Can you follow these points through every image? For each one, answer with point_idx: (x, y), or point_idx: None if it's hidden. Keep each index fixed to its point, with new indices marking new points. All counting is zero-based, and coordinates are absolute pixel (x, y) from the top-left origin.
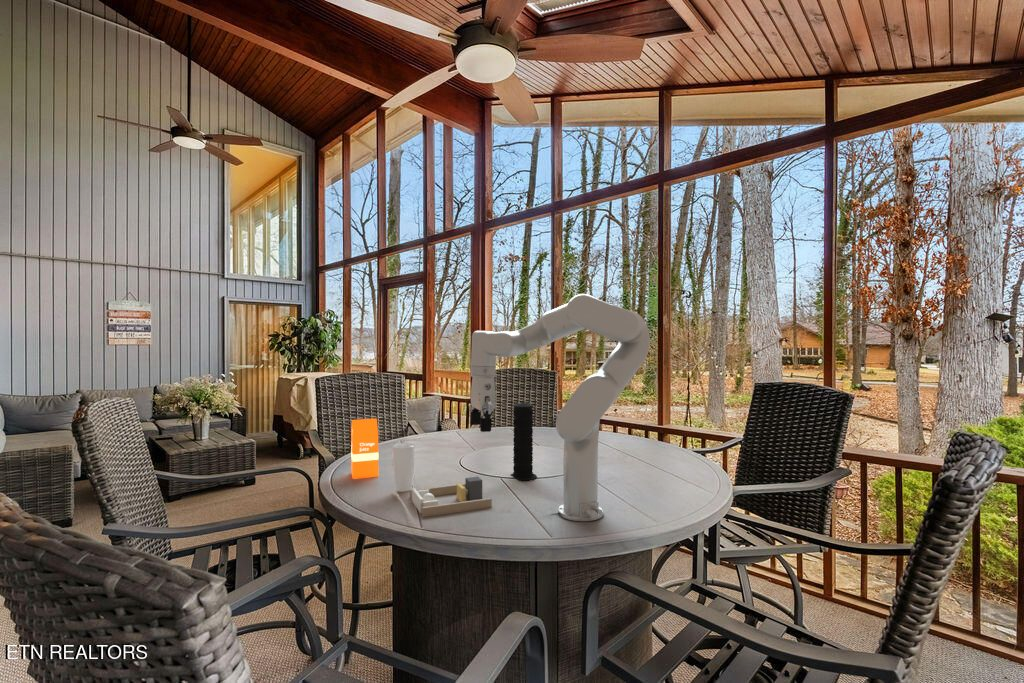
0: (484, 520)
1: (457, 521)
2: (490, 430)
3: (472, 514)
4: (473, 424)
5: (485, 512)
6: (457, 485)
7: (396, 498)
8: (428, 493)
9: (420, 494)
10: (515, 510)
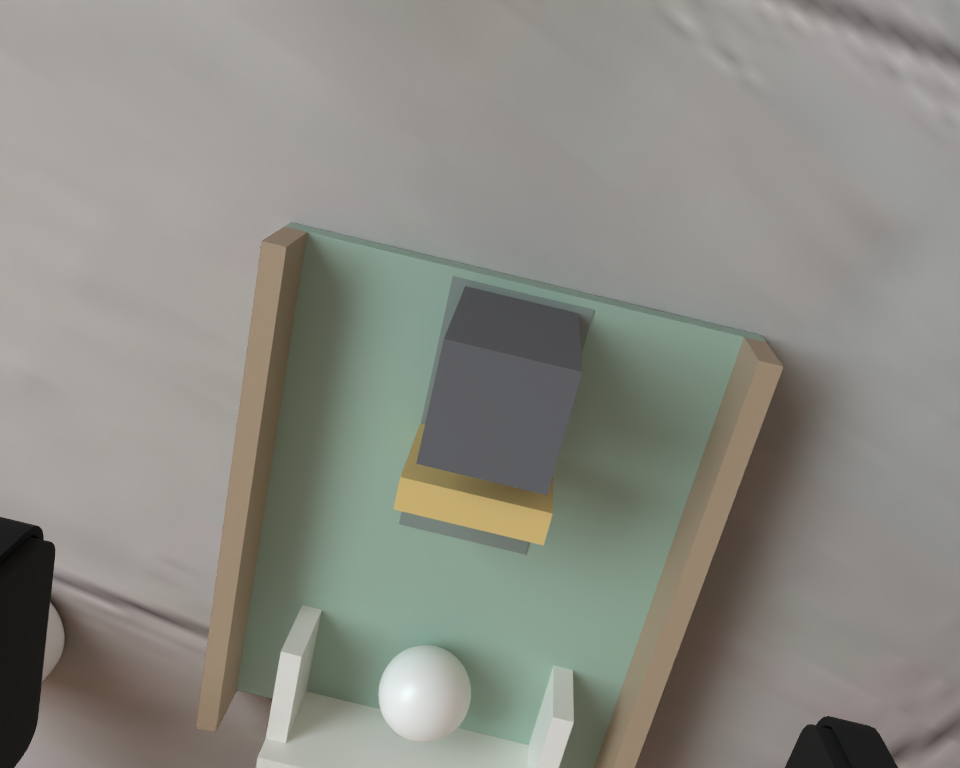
0: (892, 491)
1: (772, 630)
2: (872, 744)
3: None
4: (37, 698)
5: None
6: (420, 511)
7: (126, 709)
8: (419, 727)
9: (299, 693)
10: (907, 176)
